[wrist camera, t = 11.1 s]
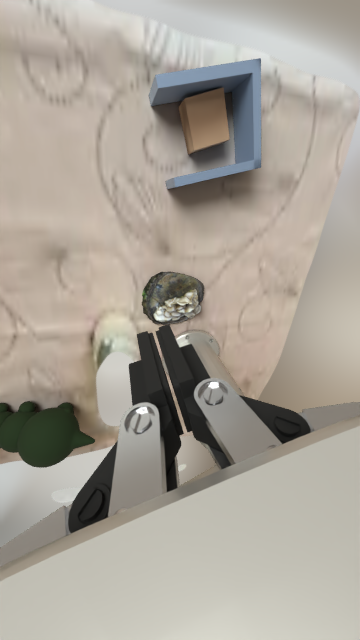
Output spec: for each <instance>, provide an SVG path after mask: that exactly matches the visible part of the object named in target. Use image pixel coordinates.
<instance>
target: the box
mask: <svg viewBox="0 0 360 640" xmlns="http://www.w3.org/2000/svg"><path fill="white" fill-rule="evenodd" d="M219 88H224V93H228V92H232V103H233V123H234V142H235V161H236V164H233V165H229V166H224V167H220V168H215V169H211V170H206V171H202V172H198V173H193V174H189V175H184V176H180V177H175V178H172V179H170V180H167V181H166V186H167V189H170V188H174V187H178V186H183V185H187V184H191V183H196V182H200V181H204V180H209V179H213V178H217V177H222V176H226V175H231V174H235V173H239V172H243V171H248V170H252V169H256V168H261V58H259V59H253V60H247V61H240V62H234V63H228V64H221V65H215V66H209V67H203V68H196V69H190V70H184V71H177V72H171V73H165V74H158V75H155V78H154V81H153V84H152V87H151V90H150V93H149V99H150V104H151V106H155V105H161V104H166V103H172V102H178V101H183V100H184V99H185V98H188V97H192V96H195V95H199V94H202V93H206V92H209V91H212V90H216V89H219Z"/></svg>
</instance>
